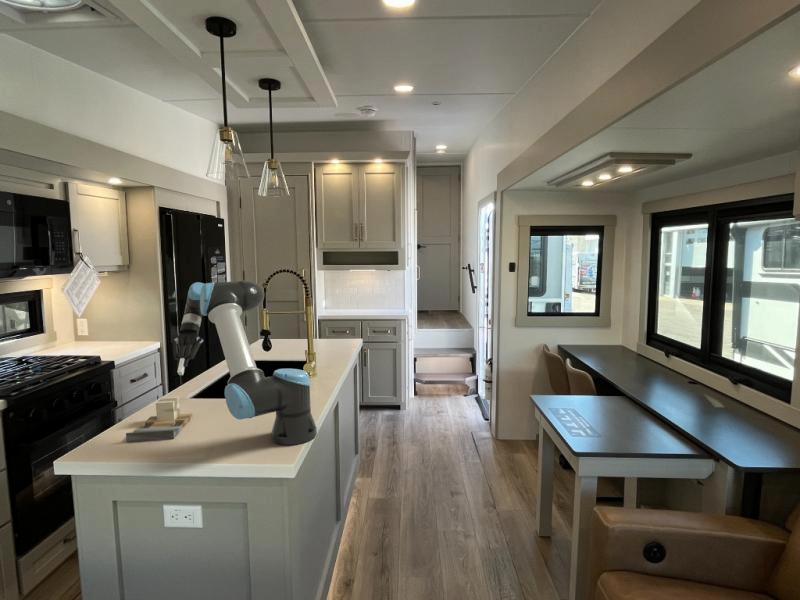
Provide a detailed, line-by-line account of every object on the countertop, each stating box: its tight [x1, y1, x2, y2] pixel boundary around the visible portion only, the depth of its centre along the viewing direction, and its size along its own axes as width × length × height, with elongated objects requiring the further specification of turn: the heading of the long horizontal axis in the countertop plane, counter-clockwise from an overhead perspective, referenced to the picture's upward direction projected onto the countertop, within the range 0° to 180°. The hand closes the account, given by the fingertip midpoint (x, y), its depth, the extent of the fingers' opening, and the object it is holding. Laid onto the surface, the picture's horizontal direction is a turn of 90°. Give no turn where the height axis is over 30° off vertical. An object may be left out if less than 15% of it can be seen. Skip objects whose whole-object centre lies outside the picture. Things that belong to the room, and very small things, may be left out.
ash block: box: [155, 396, 181, 421], centre depth 168 cm, size 6×6×7 cm
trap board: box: [125, 413, 194, 443], centre depth 161 cm, size 20×15×3 cm
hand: (180, 373), depth 182 cm, fingers closed
